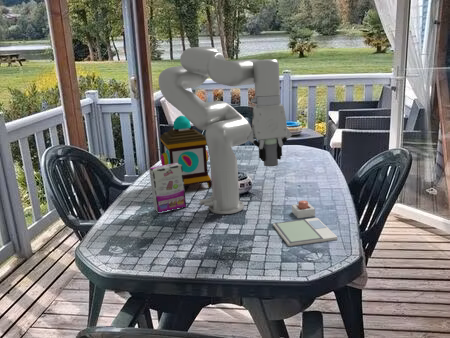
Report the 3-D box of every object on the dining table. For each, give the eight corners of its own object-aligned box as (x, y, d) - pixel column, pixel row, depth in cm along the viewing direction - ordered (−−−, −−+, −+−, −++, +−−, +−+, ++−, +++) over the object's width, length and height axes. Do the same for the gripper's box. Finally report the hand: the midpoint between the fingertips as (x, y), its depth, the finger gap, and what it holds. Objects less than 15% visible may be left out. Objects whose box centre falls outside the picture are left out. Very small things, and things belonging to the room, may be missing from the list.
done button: (300, 212, 148) (300, 204, 147) (297, 209, 151) (297, 201, 150) (309, 211, 149) (309, 203, 148) (306, 208, 152) (306, 200, 151)
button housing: (297, 218, 147) (297, 211, 146) (292, 211, 153) (291, 204, 152) (315, 216, 148) (315, 208, 147) (308, 209, 154) (308, 202, 153)
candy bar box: (181, 204, 167) (177, 162, 162) (186, 207, 162) (183, 165, 158) (153, 210, 162) (148, 167, 157) (157, 214, 158) (153, 170, 153)
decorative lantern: (203, 176, 200) (198, 110, 192) (216, 188, 182) (211, 116, 174) (159, 182, 195) (153, 114, 186) (168, 196, 176) (161, 121, 168)
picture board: (288, 246, 128) (288, 243, 127) (273, 225, 142) (273, 223, 142) (337, 239, 130) (337, 236, 130) (317, 219, 145) (317, 217, 145)
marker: (266, 167, 137) (264, 138, 134) (262, 163, 141) (260, 136, 139) (279, 165, 137) (278, 137, 135) (275, 162, 142) (274, 134, 139)
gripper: (243, 105, 129) (247, 165, 134) (298, 99, 132) (300, 159, 137) (238, 102, 136) (241, 159, 141) (290, 97, 139) (292, 153, 144)
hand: (270, 158), depth 139 cm, fingers closed on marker, 4 cm apart
